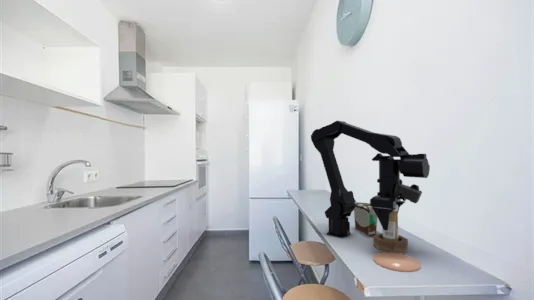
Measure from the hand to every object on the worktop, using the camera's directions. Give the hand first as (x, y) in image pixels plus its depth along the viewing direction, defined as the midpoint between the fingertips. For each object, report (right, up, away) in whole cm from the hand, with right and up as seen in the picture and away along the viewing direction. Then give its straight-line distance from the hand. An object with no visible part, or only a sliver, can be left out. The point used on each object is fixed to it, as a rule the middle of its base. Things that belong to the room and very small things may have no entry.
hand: (389, 226), depth 78 cm
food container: (0, -7, +15) cm, 17 cm away
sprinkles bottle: (0, -7, 0) cm, 7 cm away
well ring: (0, -6, 0) cm, 6 cm away
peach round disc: (-4, -6, -11) cm, 13 cm away
